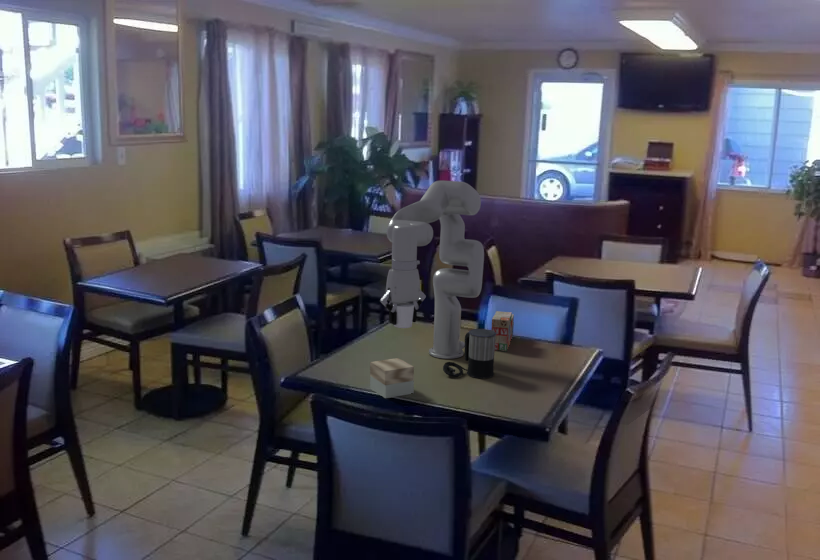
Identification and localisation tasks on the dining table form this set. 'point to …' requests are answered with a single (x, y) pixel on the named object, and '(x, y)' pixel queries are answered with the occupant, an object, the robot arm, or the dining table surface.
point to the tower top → (391, 371)
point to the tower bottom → (391, 388)
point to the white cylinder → (404, 314)
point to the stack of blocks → (503, 329)
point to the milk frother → (476, 355)
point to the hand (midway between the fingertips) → (402, 322)
